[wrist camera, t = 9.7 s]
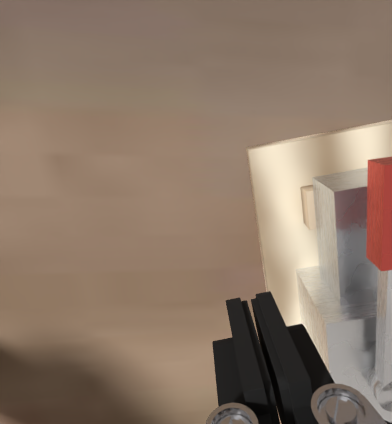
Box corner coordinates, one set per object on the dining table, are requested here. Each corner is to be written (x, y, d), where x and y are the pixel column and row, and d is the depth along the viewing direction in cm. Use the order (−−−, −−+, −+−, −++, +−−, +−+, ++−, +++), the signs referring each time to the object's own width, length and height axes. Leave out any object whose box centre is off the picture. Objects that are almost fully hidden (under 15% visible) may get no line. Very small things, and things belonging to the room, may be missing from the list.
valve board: (285, 424, 34) (292, 453, 31) (245, 147, 25) (251, 152, 22) (400, 411, 33) (419, 440, 30) (404, 117, 24) (431, 118, 21)
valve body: (311, 417, 32) (339, 500, 25) (285, 176, 24) (316, 203, 17) (383, 409, 31) (432, 492, 24) (381, 159, 23) (451, 180, 17)
